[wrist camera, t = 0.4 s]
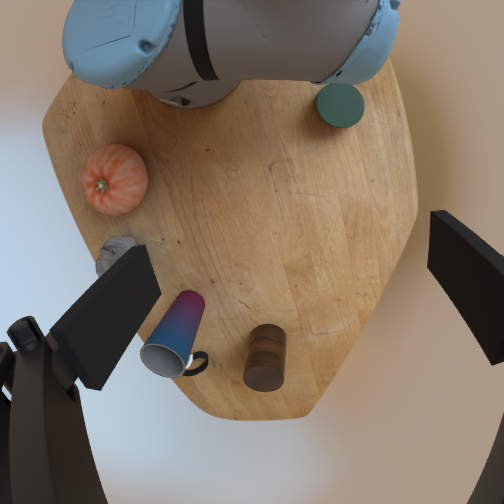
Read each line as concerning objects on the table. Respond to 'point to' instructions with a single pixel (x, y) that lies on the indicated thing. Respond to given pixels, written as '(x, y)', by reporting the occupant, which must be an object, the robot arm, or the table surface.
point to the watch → (200, 368)
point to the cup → (174, 336)
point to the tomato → (114, 179)
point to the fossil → (113, 252)
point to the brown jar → (265, 359)
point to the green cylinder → (339, 105)
